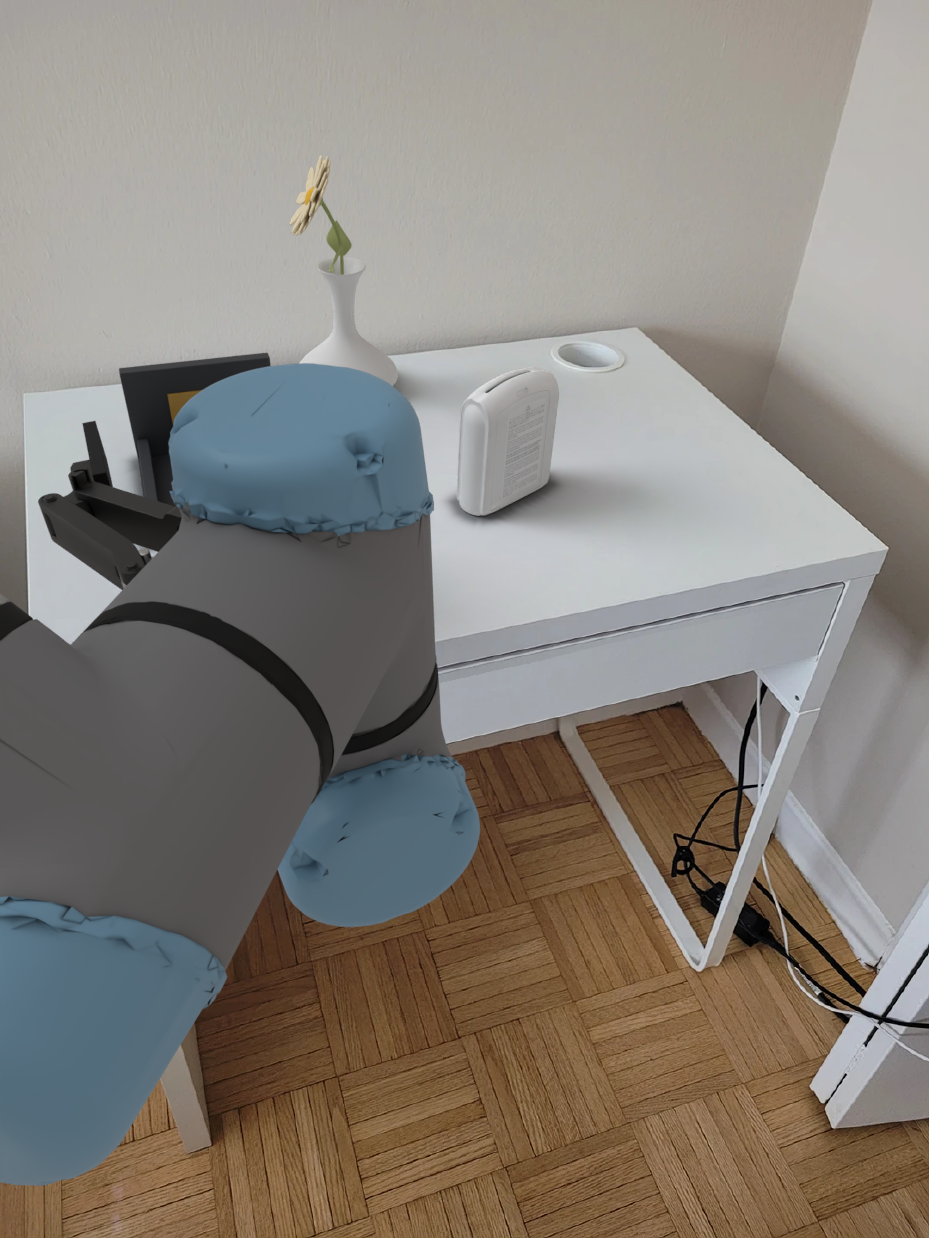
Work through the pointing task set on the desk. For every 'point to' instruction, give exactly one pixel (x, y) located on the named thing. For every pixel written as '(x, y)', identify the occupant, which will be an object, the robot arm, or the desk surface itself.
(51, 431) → the desk surface
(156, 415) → the docking cradle
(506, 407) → the photo printer
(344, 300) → the flower in vase
